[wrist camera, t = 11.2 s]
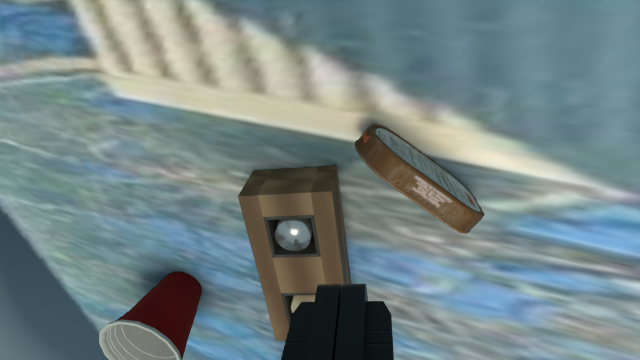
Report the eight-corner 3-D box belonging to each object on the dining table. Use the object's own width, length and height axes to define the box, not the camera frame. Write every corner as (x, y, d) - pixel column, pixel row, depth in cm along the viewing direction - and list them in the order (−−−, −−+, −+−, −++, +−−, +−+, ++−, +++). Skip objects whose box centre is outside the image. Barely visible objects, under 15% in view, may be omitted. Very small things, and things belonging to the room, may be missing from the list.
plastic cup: (142, 250, 55) (87, 317, 44) (217, 264, 54) (179, 335, 44) (148, 305, 60) (101, 376, 49) (217, 318, 59) (183, 393, 49)
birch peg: (301, 289, 54) (293, 321, 49) (296, 267, 52) (288, 297, 47) (329, 289, 53) (325, 321, 48) (325, 266, 51) (321, 297, 46)
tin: (354, 131, 42) (350, 165, 35) (372, 109, 41) (372, 139, 34) (457, 205, 45) (473, 251, 38) (477, 187, 44) (498, 230, 36)
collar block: (284, 305, 56) (275, 340, 51) (253, 170, 46) (237, 196, 41) (353, 305, 55) (351, 341, 49) (336, 165, 45) (331, 191, 39)
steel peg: (287, 223, 49) (278, 251, 44) (282, 196, 47) (271, 222, 42) (319, 222, 48) (312, 250, 43) (314, 194, 46) (307, 220, 41)
